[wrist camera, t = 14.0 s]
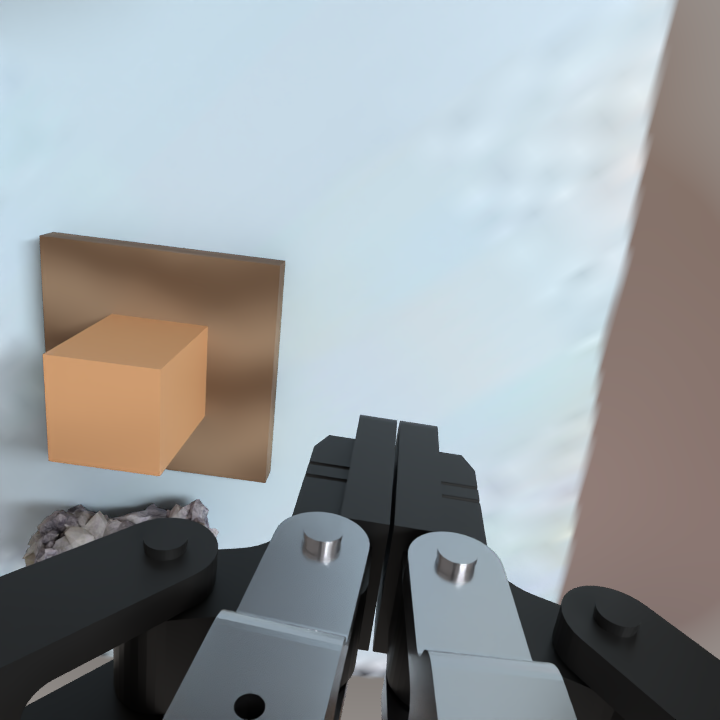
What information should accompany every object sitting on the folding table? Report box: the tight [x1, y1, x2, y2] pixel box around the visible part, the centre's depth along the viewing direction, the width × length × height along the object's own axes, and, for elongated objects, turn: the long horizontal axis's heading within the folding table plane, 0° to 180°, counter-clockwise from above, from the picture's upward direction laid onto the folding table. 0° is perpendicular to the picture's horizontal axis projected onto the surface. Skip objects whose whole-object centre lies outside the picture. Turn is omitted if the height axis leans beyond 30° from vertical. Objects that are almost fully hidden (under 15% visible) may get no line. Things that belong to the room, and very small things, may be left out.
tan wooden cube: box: [43, 314, 208, 476], centre depth 36 cm, size 6×6×8 cm
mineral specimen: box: [23, 499, 218, 567], centre depth 42 cm, size 12×9×10 cm
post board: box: [40, 232, 285, 483], centre depth 37 cm, size 14×14×8 cm
